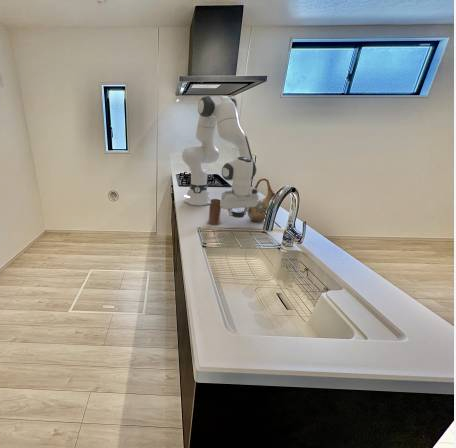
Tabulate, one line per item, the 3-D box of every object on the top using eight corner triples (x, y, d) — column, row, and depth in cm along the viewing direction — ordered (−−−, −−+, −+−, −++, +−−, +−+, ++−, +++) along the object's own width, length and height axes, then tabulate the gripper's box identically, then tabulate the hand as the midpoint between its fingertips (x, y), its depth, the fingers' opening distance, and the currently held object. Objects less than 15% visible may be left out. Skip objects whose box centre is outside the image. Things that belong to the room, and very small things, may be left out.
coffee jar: (208, 220, 141) (210, 198, 136) (219, 221, 139) (221, 199, 134) (207, 224, 135) (209, 201, 130) (219, 225, 134) (221, 202, 128)
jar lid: (246, 215, 127) (246, 210, 126) (240, 218, 123) (240, 213, 122) (234, 212, 132) (235, 208, 131) (228, 215, 128) (229, 210, 127)
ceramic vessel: (268, 218, 143) (275, 176, 134) (274, 223, 135) (282, 180, 126) (240, 217, 144) (246, 176, 135) (244, 223, 136) (251, 179, 126)
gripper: (225, 192, 117) (222, 218, 122) (261, 190, 122) (257, 215, 127) (219, 189, 123) (216, 214, 128) (254, 187, 127) (250, 212, 133)
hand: (237, 215), depth 128 cm, fingers closed on jar lid, 6 cm apart
